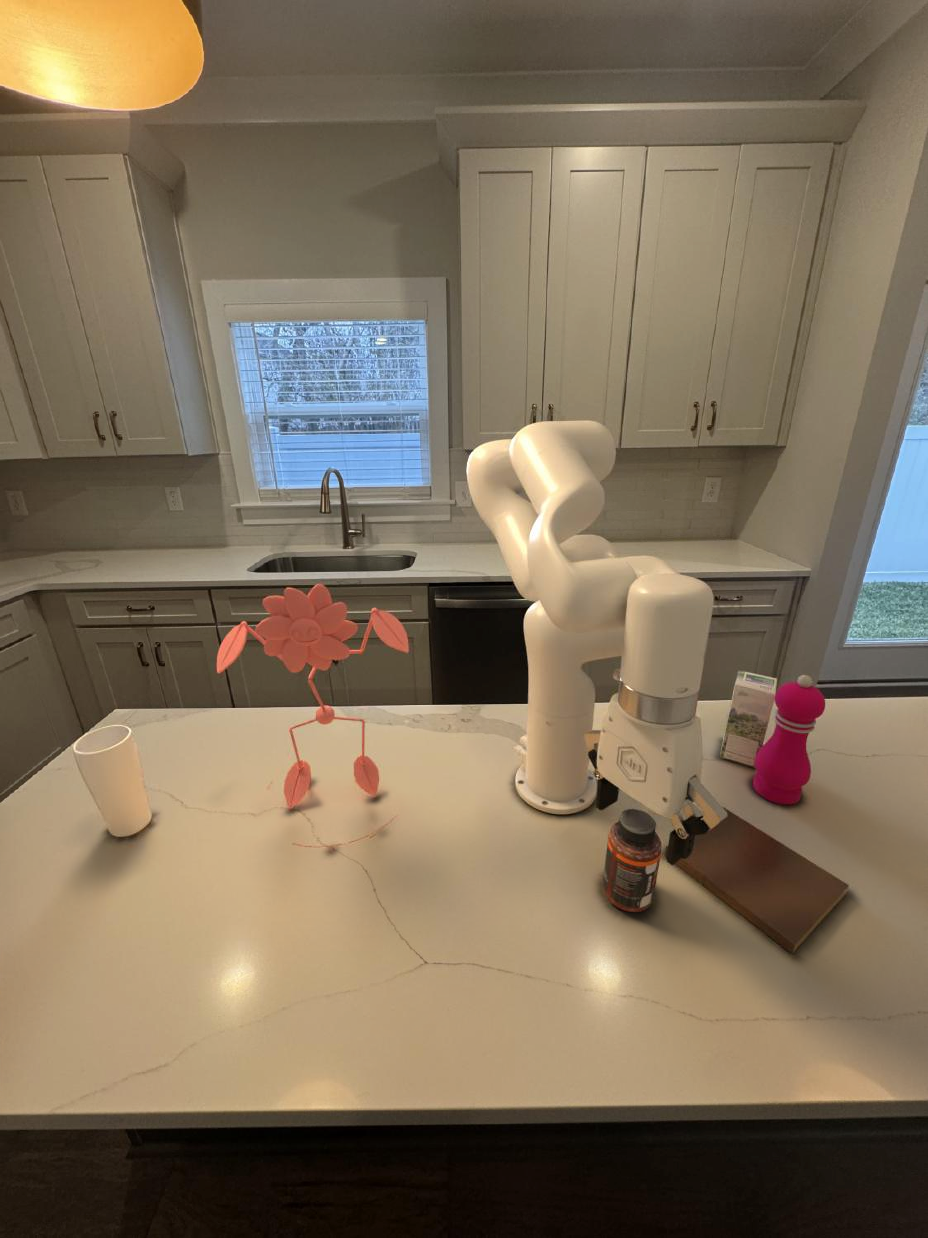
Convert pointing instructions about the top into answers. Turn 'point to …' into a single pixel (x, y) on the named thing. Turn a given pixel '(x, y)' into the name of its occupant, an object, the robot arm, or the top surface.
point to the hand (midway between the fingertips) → (639, 829)
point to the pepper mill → (789, 743)
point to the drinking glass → (114, 778)
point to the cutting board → (763, 880)
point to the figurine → (313, 662)
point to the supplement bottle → (632, 861)
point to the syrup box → (748, 717)
